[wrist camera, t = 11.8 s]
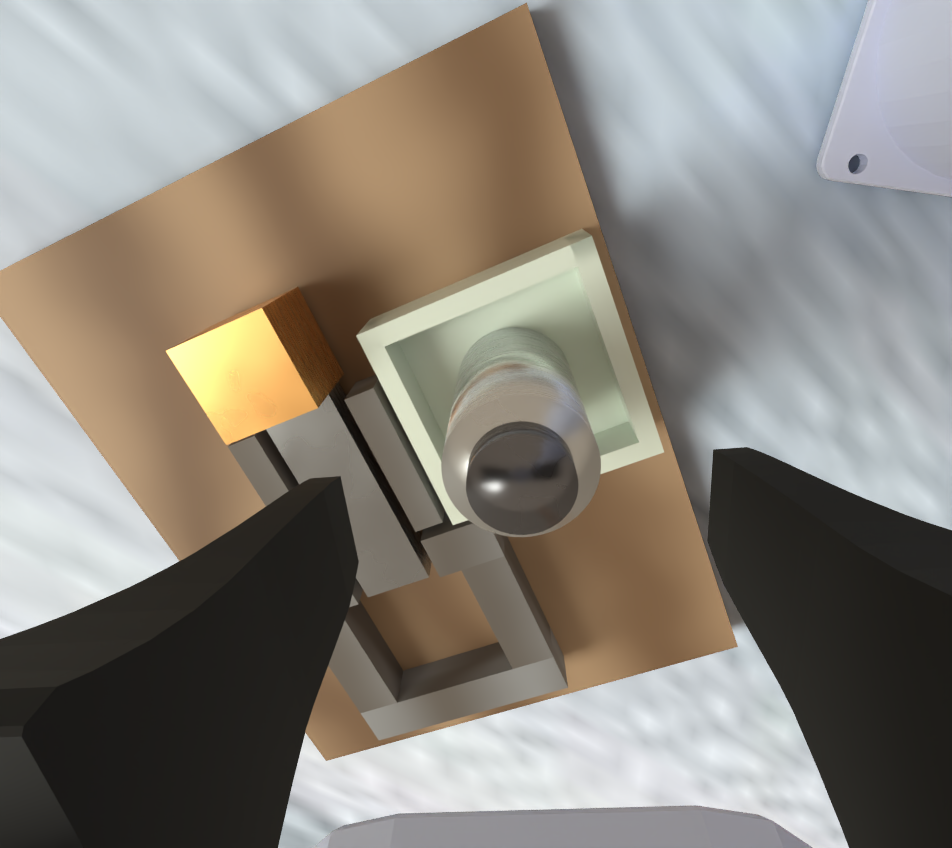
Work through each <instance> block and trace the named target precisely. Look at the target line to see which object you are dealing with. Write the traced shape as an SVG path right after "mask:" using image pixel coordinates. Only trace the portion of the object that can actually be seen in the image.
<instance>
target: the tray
mask: <svg viewBox="0 0 952 848" xmlns="http://www.w3.org/2000/svg"><path fill="white" fill-rule="evenodd" d="M507 327H524V328H529V329H533V330H536V331H538V332H540V333H543V334H544V335H546V336H548V337H549V338H550V339H552V340H553V341H554V342H555V343H556V344H557V345H558V346H559V347H560V349H561V350H562V351H563V353H564V355H565V357H566V358H567V361H568V364H569V366H570V369H571V372H572V375H573V378H574V381H575V383H576V386H577V389H578V392H579V395H580V397H581V400H582V403H583V406H584V409H585V411H586V414H587V417H588V420H589V423H590V425H591V428H592V431H593V434H594V437H595V439H596V442H597V445H598V448H599V452H600V457H601V473H600V474H603V473H606V472H609V471H612V470H614V469H617V468H620V467H623V466H626V465H629V464H632V463H635V462H638V461H641V460H643V459H646V458H649V457H652V456H655V455H658V454H661V453H664V450H663V447H662V444H661V441H660V438H659V435H658V432H657V429H656V426H655V423H654V420H653V417H652V414H651V411H650V408H649V405H648V402H647V399H646V396H645V393H644V390H643V387H642V384H641V381H640V378H639V375H638V372H637V369H636V366H635V363H634V360H633V357H632V354H631V351H630V348H629V345H628V342H627V339H626V336H625V333H624V330H623V327H622V324H621V321H620V318H619V315H618V312H617V309H616V306H615V303H614V300H613V297H612V294H611V291H610V288H609V285H608V282H607V279H606V276H605V273H604V270H603V267H602V264H601V261H600V258H599V255H598V252H597V249H596V246H595V243H594V240H593V237H592V235H590V234H589V233H587V232H586V231H585V230H583V229H580V230H578V231H575V232H573V233H571V234H568V235H566V236H564V237H561V238H559V239H557V240H554V241H552V242H550V243H547V244H545V245H543V246H540V247H538V248H536V249H533V250H531V251H529V252H526V253H524V254H522V255H519V256H517V257H514V258H512V259H510V260H507V261H505V262H503V263H500V264H498V265H496V266H493V267H491V268H489V269H486V270H484V271H482V272H479V273H477V274H475V275H472V276H470V277H468V278H465V279H463V280H461V281H458V282H456V283H454V284H451V285H449V286H447V287H444V288H442V289H440V290H437V291H435V292H432V293H430V294H428V295H425V296H423V297H421V298H418V299H416V300H414V301H411V302H409V303H407V304H404V305H402V306H400V307H397V308H395V309H393V310H390V311H388V312H386V313H383V314H381V315H379V316H376V317H374V318H372V319H370V320H369V321H368V322H367V323H366V324H365V326H364V327H363V328H362V329H361V330H360V332H359V333H358V334H357V335H356V336H357V338H358V340H359V342H360V344H361V346H362V348H363V350H364V352H365V354H366V356H367V358H368V360H369V362H370V364H371V366H372V368H373V370H374V372H375V374H376V376H377V377H378V379H379V381H380V383H381V385H382V387H383V389H384V391H385V393H386V395H387V397H388V399H389V401H390V403H391V405H392V407H393V409H394V411H395V413H396V415H397V417H398V419H399V421H400V423H401V424H402V426H403V428H404V430H405V432H406V434H407V436H408V438H409V440H410V442H411V444H412V446H413V448H414V450H415V452H416V454H417V456H418V458H419V460H420V462H421V464H422V466H423V468H424V470H425V471H426V473H427V475H428V477H429V479H430V481H431V483H432V485H433V487H434V489H435V491H436V493H437V495H438V497H439V499H440V501H441V503H442V505H443V507H444V509H445V511H446V513H447V515H448V517H449V519H450V520H451V522H452V524H453V525H455V524H458V523H461V522H464V521H467V520H468V519H466V518H465V517H464V516H463V515H462V514H461V513H460V512H459V511H458V510H457V509H456V507H455V506H454V505H453V503H452V502H451V500H450V498H449V496H448V494H447V492H446V490H445V487H444V484H443V479H442V473H441V462H442V455H443V449H444V444H445V439H446V434H447V429H448V424H449V419H450V414H451V409H452V404H453V399H454V393H455V388H456V383H457V378H458V373H459V369H460V365H461V362H462V360H463V358H464V356H465V354H466V353H467V351H468V350H469V349H470V347H471V346H472V345H473V344H474V343H475V342H476V341H477V340H479V339H480V338H481V337H483V336H484V335H486V334H488V333H490V332H492V331H495V330H498V329H502V328H507Z"/></svg>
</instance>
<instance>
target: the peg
mask: <svg viewBox="0 0 952 848" xmlns="http://www.w3.org/2000/svg"><path fill="white" fill-rule="evenodd" d="M441 473H442V479H443V484H444V487H445V490H446V492H447V494H448V496H449V498H450V500H451V502H452V503H453V505H454V506H455V507H456V509H457V510H458V511H459V512H460V513H461V514H462V515H463V516H464V517H465V518H466V519H468V520H469V521H470V522H472V523H473V524H475V525H476V526H478V527H480V528H482V529H484V530H486V531H489V532H492V533H495V534H499V535H503V536H509V537H532V536H537V535H542V534H546V533H549V532H552V531H554V530H556V529H559V528H561V527H563V526H564V525H566V524H568V523H569V522H571V521H572V520H573V519H574V518H576V517H577V516H578V515H579V514H580V513H581V512H582V511H583V510H584V509H585V508H586V506H587V505H588V504H589V502H590V501H591V499H592V497H593V496H594V494H595V491H596V489H597V486H598V483H599V479H600V473H601V457H600V452H599V448H598V445H597V442H596V439H595V437H594V434H593V431H592V428H591V425H590V423H589V420H588V417H587V414H586V411H585V409H584V406H583V403H582V400H581V397H580V395H579V392H578V389H577V386H576V383H575V381H574V378H573V375H572V372H571V369H570V366H569V364H568V361H567V358H566V357H565V355H564V353H563V351H562V350H561V349H560V347H559V346H558V345H557V344H556V343H555V342H554V341H553V340H552V339H550V338H549V337H548V336H546V335H544V334H543V333H540V332H538V331H536V330H533V329H529V328H524V327H507V328H502V329H498V330H495V331H492V332H490V333H488V334H486V335H484V336H483V337H481V338H480V339H479V340H477V341H476V342H475V343H474V344H473V345H472V346H471V347H470V349H469V350H468V351H467V353H466V354H465V356H464V358H463V360H462V362H461V365H460V369H459V373H458V378H457V383H456V388H455V393H454V399H453V404H452V409H451V414H450V419H449V424H448V429H447V434H446V439H445V444H444V449H443V455H442V462H441Z"/></svg>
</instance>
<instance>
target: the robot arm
mask: <svg viewBox="0 0 952 848" xmlns="http://www.w3.org/2000/svg"><path fill="white" fill-rule="evenodd" d="M855 155H857V156H858V157H859V159H860V165H859V167H858V168H857V170H856V171H854V172H853V173H851V172H850V171H849V169H848V164H849V161H850V159H851V158H852V157H853V156H855ZM816 168H817V172H818V174H819V175H820V176H821V177H822V178H823V179H826V180H830V181H837V182H845V183H852V184H859V185H867V186H874V187H882V188H889V189H897V190H904V191H911V192H919V193H926V194H934V195H941V196H948V197H952V0H868V3H867V6H866V9H865V12H864V15H863V18H862V21H861V25H860V28H859V31H858V34H857V37H856V40H855V43H854V46H853V49H852V53H851V56H850V59H849V62H848V65H847V68H846V71H845V74H844V78H843V81H842V84H841V87H840V90H839V93H838V96H837V99H836V102H835V106H834V109H833V112H832V115H831V118H830V121H829V124H828V127H827V130H826V134H825V137H824V140H823V143H822V146H821V149H820V152H819V155H818V158H817V165H816ZM708 543H709V546H710V549H711V552H712V555H713V557H714V560H715V563H716V566H717V568H718V571H719V573H720V576H721V578H722V581H723V583H724V586H725V587H726V589H727V591H728V593H729V595H730V597H731V599H732V600H733V602H734V604H735V606H736V608H737V609H738V611H739V613H740V615H741V617H742V619H743V620H744V622H745V624H746V626H747V627H748V629H749V631H750V633H751V635H752V636H753V638H754V640H755V642H756V643H757V645H758V647H759V649H760V651H761V652H762V654H763V656H764V658H765V659H766V661H767V663H768V665H769V667H770V668H771V670H772V672H773V674H774V675H775V677H776V679H777V681H778V683H779V684H780V686H781V688H782V690H783V692H784V694H785V696H786V698H787V700H788V702H789V704H790V706H791V708H792V710H793V712H794V714H795V717H796V719H797V721H798V724H799V726H800V728H801V731H802V733H803V735H804V738H805V740H806V742H807V745H808V747H809V749H810V752H811V754H812V756H813V758H814V761H815V763H816V765H817V768H818V770H819V773H820V775H821V778H822V780H823V783H824V785H825V788H826V790H827V793H828V795H829V798H830V800H831V803H832V805H833V808H834V810H835V813H836V815H837V817H838V820H839V822H840V825H841V827H842V830H843V833H844V835H845V838H846V841H847V843H848V846H849V848H952V530H948V529H945V528H942V527H939V526H936V525H933V524H930V523H927V522H924V521H921V520H918V519H916V518H913V517H910V516H907V515H905V514H902V513H899V512H897V511H894V510H892V509H889V508H887V507H884V506H882V505H879V504H877V503H874V502H872V501H869V500H867V499H864V498H862V497H860V496H857V495H855V494H853V493H850V492H848V491H846V490H843V489H841V488H839V487H837V486H834V485H832V484H830V483H828V482H826V481H823V480H821V479H819V478H817V477H815V476H812V475H810V474H808V473H806V472H804V471H802V470H800V469H797V468H795V467H793V466H791V465H789V464H787V463H785V462H782V461H780V460H778V459H776V458H773V457H771V456H769V455H767V454H764V453H762V452H759V451H757V450H754V449H751V448H747V447H744V448H730V449H716V450H713V464H712V480H711V496H710V511H709V527H708ZM358 564H359V560H358V556H357V551H356V546H355V542H354V537H353V532H352V528H351V523H350V518H349V514H348V509H347V504H346V499H345V495H344V490H343V485H342V481H341V476H336V477H321V478H310V479H308V480H306V481H304V482H302V483H301V484H299V485H297V486H296V487H294V488H293V489H291V490H289V491H288V492H286V493H285V494H283V495H282V496H280V497H279V498H278V499H276V500H275V501H273V502H272V503H270V504H269V505H267V506H266V507H264V508H263V509H261V510H260V511H258V512H257V513H256V514H254V515H253V516H251V517H250V518H248V519H247V520H245V521H244V522H242V523H241V524H239V525H238V526H236V527H235V528H233V529H232V530H230V531H228V532H227V533H225V534H224V535H222V536H220V537H219V538H217V539H216V540H214V541H212V542H211V543H209V544H208V545H206V546H204V547H203V548H201V549H200V550H198V551H197V552H195V553H193V554H192V555H190V556H188V557H186V558H185V559H183V560H181V561H179V562H177V563H176V564H174V565H172V566H170V567H168V568H167V569H165V570H163V571H161V572H159V573H157V574H155V575H153V576H151V577H149V578H147V579H145V580H143V581H141V582H139V583H137V584H135V585H133V586H131V587H129V588H127V589H124V590H122V591H120V592H118V593H115V594H113V595H111V596H109V597H106V598H104V599H102V600H100V601H97V602H95V603H93V604H90V605H88V606H86V607H84V608H81V609H79V610H77V611H75V612H72V613H70V614H67V615H65V616H62V617H59V618H57V619H54V620H52V621H49V622H46V623H44V624H41V625H39V626H36V627H33V628H30V629H28V630H25V631H22V632H19V633H16V634H13V635H11V636H8V637H5V638H2V639H0V848H278V844H279V840H280V835H281V831H282V827H283V822H284V818H285V813H286V809H287V804H288V800H289V796H290V791H291V787H292V783H293V779H294V775H295V771H296V767H297V763H298V759H299V755H300V751H301V747H302V743H303V739H304V735H305V731H306V727H307V724H308V721H309V718H310V715H311V712H312V709H313V706H314V703H315V700H316V697H317V695H318V692H319V689H320V687H321V684H322V681H323V678H324V676H325V673H326V670H327V668H328V665H329V662H330V659H331V657H332V654H333V651H334V649H335V646H336V643H337V640H338V638H339V635H340V632H341V629H342V627H343V624H344V621H345V618H346V615H347V612H348V609H349V607H350V603H351V598H352V594H353V589H354V585H355V579H356V574H357V569H358ZM313 848H812V847H811V846H809V845H808V844H806V843H805V842H803V841H802V840H800V839H799V838H797V837H796V836H794V835H793V834H791V833H790V832H788V831H787V830H785V829H784V828H782V827H781V826H779V825H778V824H776V823H775V822H773V821H772V820H769V819H767V818H765V817H762V816H760V815H756V814H750V813H743V812H736V811H729V810H723V809H716V808H709V807H702V806H661V807H625V808H588V809H551V810H515V811H478V812H442V813H405V814H395V815H390V816H386V817H381V818H377V819H372V820H367V821H363V822H358V823H353V824H349V825H344V826H342V827H340V828H338V829H336V830H334V831H332V832H331V833H330V834H328V835H327V836H326V837H325V838H324V839H323V840H321V841H320V842H319V843H318V844H317V845H316V846H314V847H313Z"/></svg>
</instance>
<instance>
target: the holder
mask: <svg viewBox="0 0 952 848" xmlns="http://www.w3.org/2000/svg"><path fill="white" fill-rule="evenodd" d="M580 229H583V230H585V231H586V232H587V233H589V234H590V235H592V237H593V240H594V243H595V246H596V249H597V252H598V255H599V258H600V261H601V264H602V267H603V270H604V273H605V276H606V279H607V282H608V285H609V288H610V291H611V294H612V297H613V300H614V303H615V306H616V309H617V312H618V315H619V318H620V321H621V324H622V327H623V330H624V333H625V336H626V339H627V342H628V345H629V348H630V351H631V354H632V357H633V360H634V363H635V366H636V369H637V372H638V375H639V378H640V381H641V384H642V387H643V390H644V393H645V396H646V399H647V402H648V405H649V408H650V411H651V414H652V417H653V420H654V423H655V426H656V429H657V432H658V435H659V438H660V441H661V444H662V447H663V450H664V453H661V454H658V455H655V456H652V457H649V458H646V459H643V460H641V461H638V462H635V463H632V464H629V465H626V466H623V467H620V468H617V469H614V470H612V471H609V472H606V473H603V474H600V479H599V483H598V486H597V489H596V491H595V494H594V496H593V497H592V499H591V501H590V502H589V504H588V505H587V506H586V508H585V509H584V510H583V511H582V512H581V513H580V514H579V515H578V516H577V517H576V518H574V519H573V520H572V521H571V522H569V523H568V524H566V525H564V526H563V527H561V528H559V529H556V530H554V531H552V532H549V533H546V534H542V535H537V536H532V537H509V536H503V535H499V534H495V533H492V532H489V531H486V530H484V529H482V528H480V527H478V526H476V525H475V524H473V523H472V522H470V521H469V520H467V521H464V522H461V523H458V524H455V525H453V524H452V522H451V520H450V519H449V517H448V515H447V513H446V511H445V509H444V507H443V505H442V503H441V501H440V499H439V497H438V495H437V493H436V491H435V489H434V487H433V485H432V483H431V481H430V479H429V477H428V475H427V473H426V471H425V470H424V468H423V466H422V464H421V462H420V460H419V458H418V456H417V454H416V452H415V450H414V448H413V446H412V444H411V442H410V440H409V438H408V436H407V434H406V432H405V430H404V428H403V426H402V424H401V423H400V421H399V419H398V417H397V415H396V413H395V411H394V409H393V407H392V405H391V403H390V401H389V399H388V397H387V395H386V393H385V391H384V389H383V387H382V385H381V383H380V381H379V379H378V377H377V376H376V374H375V372H374V370H373V368H372V366H371V364H370V362H369V360H368V358H367V356H366V354H365V352H364V350H363V348H362V346H361V344H360V342H359V340H358V338H357V336H356V335H357V334H358V333H359V332H360V330H361V329H362V328H363V327H364V326H365V324H366V323H367V322H368V321H369V320H370V319H372V318H374V317H376V316H379V315H381V314H383V313H386V312H388V311H390V310H393V309H395V308H397V307H400V306H402V305H404V304H407V303H409V302H411V301H414V300H416V299H418V298H421V297H423V296H425V295H428V294H430V293H432V292H435V291H437V290H440V289H442V288H444V287H447V286H449V285H451V284H454V283H456V282H458V281H461V280H463V279H465V278H468V277H470V276H472V275H475V274H477V273H479V272H482V271H484V270H486V269H489V268H491V267H493V266H496V265H498V264H500V263H503V262H505V261H507V260H510V259H512V258H514V257H517V256H519V255H522V254H524V253H526V252H529V251H531V250H533V249H536V248H538V247H540V246H543V245H545V244H547V243H550V242H552V241H554V240H557V239H559V238H561V237H564V236H566V235H568V234H571V233H573V232H575V231H578V230H580ZM296 287H298V288H299V290H300V292H301V294H302V296H303V297H304V299H305V301H306V303H307V305H308V307H309V309H310V311H311V312H312V314H313V316H314V318H315V320H316V322H317V324H318V326H319V328H320V329H321V331H322V333H323V335H324V337H325V339H326V341H327V343H328V344H329V346H330V348H331V350H332V352H333V354H334V356H335V358H336V360H337V361H338V363H339V365H340V367H341V369H342V371H343V373H344V374H343V376H342V377H341V378H340V380H339V381H338V382H339V384H340V386H341V388H342V389H343V391H344V393H345V395H346V398H345V399H344V401H345V402H346V404H347V406H348V408H349V410H350V412H351V414H352V415H353V417H354V419H355V421H356V423H357V425H358V426H359V428H360V430H361V432H362V434H363V436H364V438H365V439H366V441H367V443H368V445H369V447H370V449H371V451H372V452H373V454H374V456H375V458H376V460H377V462H378V463H379V465H380V467H381V469H382V471H383V473H384V475H385V476H386V478H387V480H388V482H389V484H390V486H391V487H392V489H393V491H394V493H395V495H396V497H397V499H398V500H399V502H400V504H401V506H402V508H403V510H404V512H405V513H406V515H407V517H408V519H409V521H410V523H411V524H412V526H413V528H414V530H415V532H417V531H419V532H420V534H421V536H422V537H421V543H422V545H423V547H424V548H425V550H426V552H427V554H428V556H429V558H430V560H431V561H432V563H431V569H430V575H429V577H428V578H425V579H422V580H419V581H416V582H413V583H410V584H407V585H404V586H401V587H398V588H395V589H392V590H389V591H386V592H383V593H380V594H377V595H374V596H371V597H367V595H366V593H365V592H364V590H363V588H362V587H361V585H360V584H359V582H358V580H357V579H355V585H354V589H353V594H352V598H351V603H350V607H349V609H348V612H347V615H346V618H345V621H344V624H343V627H342V629H341V632H340V635H339V638H338V640H337V643H336V646H335V649H334V651H333V654H332V657H331V659H330V662H329V665H328V668H327V670H326V673H325V676H324V678H323V681H322V684H321V687H320V689H319V692H318V695H317V697H316V700H315V703H314V706H313V709H312V712H311V715H310V718H309V721H308V724H307V727H306V731H305V732H306V734H307V735H308V737H309V738H310V739H311V741H312V742H313V743H314V745H315V746H316V747H317V749H318V750H319V752H320V753H321V754H322V756H323V757H324V758H325V760H326V761H327V760H331V759H334V758H338V757H342V756H345V755H349V754H352V753H356V752H360V751H363V750H367V749H370V748H374V747H378V746H381V745H385V744H388V743H392V742H396V741H399V740H403V739H406V738H410V737H414V736H417V735H421V734H424V733H428V732H432V731H435V730H439V729H443V728H446V727H450V726H453V725H457V724H461V723H464V722H468V721H471V720H475V719H479V718H482V717H486V716H489V715H493V714H497V713H500V712H504V711H507V710H511V709H515V708H518V707H522V706H525V705H529V704H533V703H536V702H540V701H543V700H547V699H551V698H554V697H558V696H561V695H565V694H569V693H572V692H576V691H579V690H583V689H587V688H590V687H594V686H598V685H601V684H605V683H608V682H612V681H616V680H619V679H623V678H626V677H630V676H634V675H637V674H641V673H644V672H648V671H652V670H655V669H659V668H662V667H666V666H670V665H673V664H677V663H680V662H684V661H688V660H691V659H695V658H698V657H702V656H706V655H709V654H713V653H716V652H720V651H724V650H727V649H731V648H734V647H738V646H737V643H736V640H735V637H734V634H733V631H732V628H731V625H730V621H729V618H728V615H727V612H726V609H725V606H724V603H723V600H722V597H721V594H720V591H719V588H718V585H717V582H716V579H715V576H714V573H713V570H712V567H711V564H710V560H709V557H708V554H707V551H706V548H705V545H704V542H703V539H702V536H701V533H700V530H699V527H698V524H697V521H696V518H695V515H694V512H693V509H692V506H691V503H690V499H689V496H688V493H687V490H686V487H685V484H684V481H683V478H682V475H681V472H680V469H679V466H678V463H677V460H676V457H675V454H674V451H673V448H672V445H671V442H670V438H669V435H668V432H667V429H666V426H665V423H664V420H663V417H662V414H661V411H660V408H659V405H658V402H657V399H656V396H655V393H654V390H653V387H652V384H651V381H650V378H649V374H648V371H647V368H646V365H645V362H644V359H643V356H642V353H641V350H640V347H639V344H638V341H637V338H636V335H635V332H634V329H633V326H632V323H631V320H630V317H629V313H628V310H627V307H626V304H625V301H624V298H623V295H622V292H621V289H620V286H619V283H618V280H617V277H616V274H615V271H614V268H613V265H612V262H611V259H610V256H609V252H608V249H607V246H606V243H605V240H604V237H603V234H602V231H601V228H600V225H599V222H598V219H597V216H596V213H595V210H594V207H593V204H592V201H591V198H590V195H589V191H588V188H587V185H586V182H585V179H584V176H583V173H582V170H581V167H580V164H579V161H578V158H577V155H576V152H575V149H574V146H573V143H572V140H571V137H570V134H569V130H568V127H567V124H566V121H565V118H564V115H563V112H562V109H561V106H560V103H559V100H558V97H557V94H556V91H555V88H554V85H553V82H552V79H551V76H550V73H549V70H548V66H547V63H546V60H545V57H544V54H543V51H542V48H541V45H540V42H539V39H538V36H537V33H536V30H535V27H534V24H533V21H532V18H531V15H530V12H529V9H528V5H527V3H525V4H523V5H521V6H519V7H518V8H516V9H514V10H512V11H510V12H508V13H506V14H504V15H502V16H500V17H498V18H496V19H494V20H492V21H490V22H488V23H486V24H484V25H482V26H480V27H478V28H476V29H474V30H472V31H470V32H468V33H466V34H464V35H463V36H461V37H459V38H457V39H455V40H453V41H451V42H449V43H447V44H445V45H443V46H441V47H439V48H437V49H435V50H433V51H431V52H429V53H427V54H425V55H423V56H421V57H419V58H417V59H415V60H413V61H411V62H409V63H408V64H406V65H404V66H402V67H400V68H398V69H396V70H394V71H392V72H390V73H388V74H386V75H384V76H382V77H380V78H378V79H376V80H374V81H372V82H370V83H368V84H366V85H364V86H362V87H360V88H358V89H356V90H354V91H353V92H351V93H349V94H347V95H345V96H343V97H341V98H339V99H337V100H335V101H333V102H331V103H329V104H327V105H325V106H323V107H321V108H319V109H317V110H315V111H313V112H311V113H309V114H307V115H305V116H303V117H301V118H299V119H297V120H296V121H294V122H292V123H290V124H288V125H286V126H284V127H282V128H280V129H278V130H276V131H274V132H272V133H270V134H268V135H266V136H264V137H262V138H260V139H258V140H256V141H254V142H252V143H250V144H248V145H246V146H244V147H242V148H241V149H239V150H237V151H235V152H233V153H231V154H229V155H227V156H225V157H223V158H221V159H219V160H217V161H215V162H213V163H211V164H209V165H207V166H205V167H203V168H201V169H199V170H197V171H195V172H193V173H191V174H189V175H187V176H186V177H184V178H182V179H180V180H178V181H176V182H174V183H172V184H170V185H168V186H166V187H164V188H162V189H160V190H158V191H156V192H154V193H152V194H150V195H148V196H146V197H144V198H142V199H140V200H138V201H136V202H134V203H132V204H131V205H129V206H127V207H125V208H123V209H121V210H119V211H117V212H115V213H113V214H111V215H109V216H107V217H105V218H103V219H101V220H99V221H97V222H95V223H93V224H91V225H89V226H87V227H85V228H83V229H81V230H79V231H77V232H76V233H74V234H72V235H70V236H68V237H66V238H64V239H62V240H60V241H58V242H56V243H54V244H52V245H50V246H48V247H46V248H44V249H42V250H40V251H38V252H36V253H34V254H32V255H30V256H28V257H26V258H24V259H22V260H21V261H19V262H17V263H15V264H13V265H11V266H9V267H7V268H5V269H3V270H1V271H0V317H1V318H2V319H3V321H4V322H5V324H6V325H7V326H8V328H9V329H10V330H11V332H12V333H13V334H14V336H15V337H16V339H17V340H18V341H19V343H20V344H21V345H22V347H23V348H24V349H25V351H26V352H27V354H28V355H29V356H30V358H31V359H32V360H33V362H34V363H35V364H36V366H37V367H38V369H39V370H40V371H41V373H42V374H43V375H44V377H45V378H46V379H47V381H48V382H49V384H50V385H51V386H52V388H53V389H54V390H55V392H56V393H57V394H58V396H59V397H60V399H61V400H62V401H63V403H64V404H65V405H66V407H67V408H68V409H69V411H70V412H71V414H72V415H73V416H74V418H75V419H76V420H77V422H78V423H79V424H80V426H81V427H82V429H83V430H84V431H85V433H86V434H87V435H88V437H89V438H90V439H91V441H92V442H93V444H94V445H95V446H96V448H97V449H98V450H99V452H100V453H101V454H102V456H103V457H104V459H105V460H106V461H107V463H108V464H109V465H110V467H111V468H112V469H113V471H114V472H115V473H116V475H117V476H118V478H119V479H120V480H121V482H122V483H123V484H124V486H125V487H126V488H127V490H128V491H129V493H130V494H131V495H132V497H133V498H134V499H135V501H136V502H137V503H138V505H139V506H140V508H141V509H142V510H143V512H144V513H145V514H146V516H147V517H148V518H149V520H150V521H151V523H152V524H153V525H154V527H155V528H156V529H157V531H158V532H159V533H160V535H161V536H162V538H163V539H164V540H165V542H166V543H167V544H168V546H169V547H170V548H171V550H172V551H173V553H174V554H175V555H176V557H177V558H178V559H179V561H181V560H183V559H185V558H186V557H188V556H190V555H192V554H193V553H195V552H197V551H198V550H200V549H201V548H203V547H204V546H206V545H208V544H209V543H211V542H212V541H214V540H216V539H217V538H219V537H220V536H222V535H224V534H225V533H227V532H228V531H230V530H232V529H233V528H235V527H236V526H238V525H239V524H241V523H242V522H244V521H245V520H247V519H248V518H250V517H251V516H253V515H254V514H256V513H257V512H258V511H260V510H261V509H263V508H264V507H266V506H267V505H269V504H270V503H272V502H273V501H275V500H276V499H278V498H279V497H280V496H282V495H283V494H285V493H286V492H288V491H289V490H291V489H293V488H294V487H296V486H297V485H299V483H298V481H297V480H296V478H295V476H294V475H293V473H292V471H291V470H290V468H289V466H288V465H287V463H286V461H285V460H284V458H283V457H282V455H281V453H280V452H279V450H278V448H277V447H276V445H275V443H274V442H273V440H272V438H271V437H270V435H269V433H268V432H267V430H266V429H265V430H263V431H260V432H258V433H255V434H253V435H250V436H248V437H245V438H243V439H240V440H238V441H235V442H233V443H230V444H228V445H226V444H225V442H224V441H223V439H222V438H221V436H220V435H219V433H218V432H217V430H216V428H215V427H214V425H213V424H212V422H211V421H210V419H209V417H208V416H207V414H206V413H205V411H204V410H203V408H202V407H201V405H200V403H199V402H198V400H197V399H196V397H195V396H194V394H193V393H192V391H191V389H190V388H189V386H188V385H187V383H186V382H185V380H184V378H183V377H182V375H181V374H180V372H179V371H178V369H177V368H176V366H175V364H174V363H173V361H172V360H171V358H170V357H169V355H168V354H167V352H166V351H167V350H168V349H170V348H172V347H174V346H176V345H178V344H179V343H181V342H183V341H185V340H187V339H189V338H190V337H192V336H194V335H196V334H198V333H199V332H201V331H203V330H205V329H207V328H209V327H210V326H212V325H214V324H216V323H218V322H220V321H223V320H225V319H227V318H229V317H232V316H234V315H236V314H238V313H241V312H243V311H245V310H247V309H249V308H252V307H254V306H256V305H258V304H261V303H263V302H265V301H267V300H269V299H272V298H274V297H276V296H278V295H281V294H283V293H285V292H287V291H289V290H292V289H294V288H296Z"/></svg>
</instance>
